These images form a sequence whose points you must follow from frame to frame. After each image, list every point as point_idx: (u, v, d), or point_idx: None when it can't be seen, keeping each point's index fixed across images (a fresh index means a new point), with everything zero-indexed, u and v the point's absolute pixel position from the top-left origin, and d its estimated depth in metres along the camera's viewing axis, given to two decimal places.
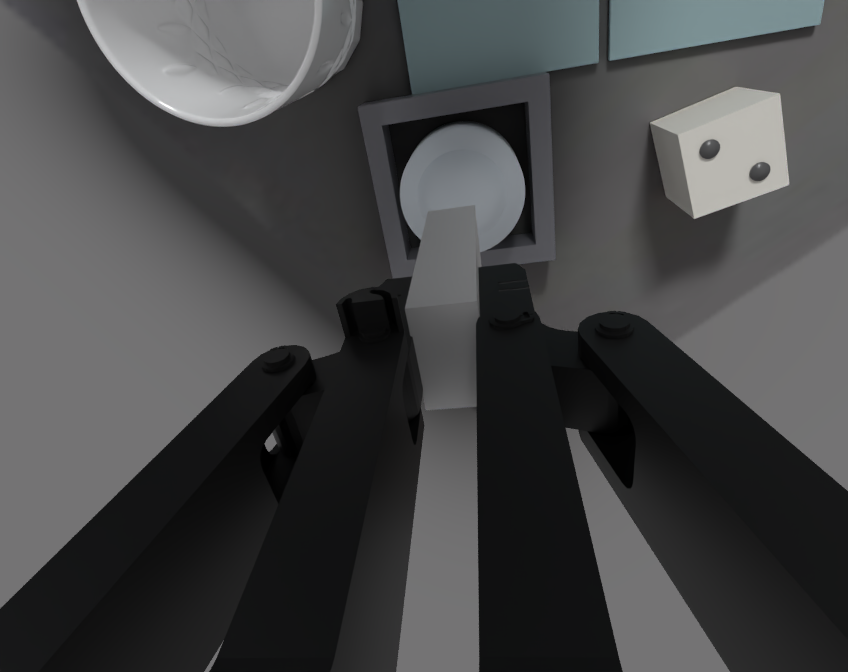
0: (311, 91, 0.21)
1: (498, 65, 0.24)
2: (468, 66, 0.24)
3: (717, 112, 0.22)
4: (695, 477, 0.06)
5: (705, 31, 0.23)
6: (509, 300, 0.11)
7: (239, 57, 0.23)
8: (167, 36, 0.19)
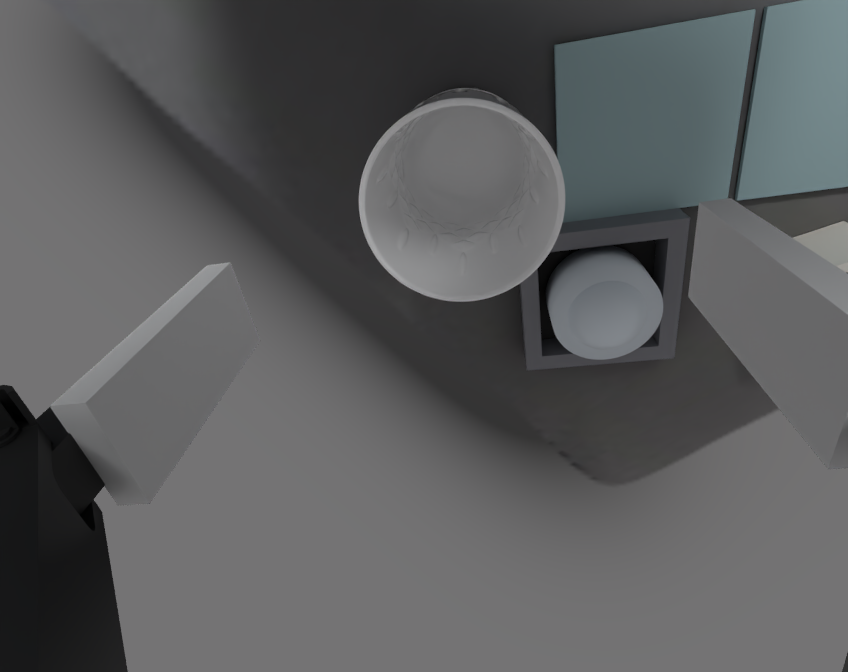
0: None
1: (638, 202, 0.28)
2: (612, 202, 0.28)
3: (835, 255, 0.26)
4: None
5: (823, 180, 0.27)
6: None
7: (422, 201, 0.27)
8: (391, 210, 0.23)
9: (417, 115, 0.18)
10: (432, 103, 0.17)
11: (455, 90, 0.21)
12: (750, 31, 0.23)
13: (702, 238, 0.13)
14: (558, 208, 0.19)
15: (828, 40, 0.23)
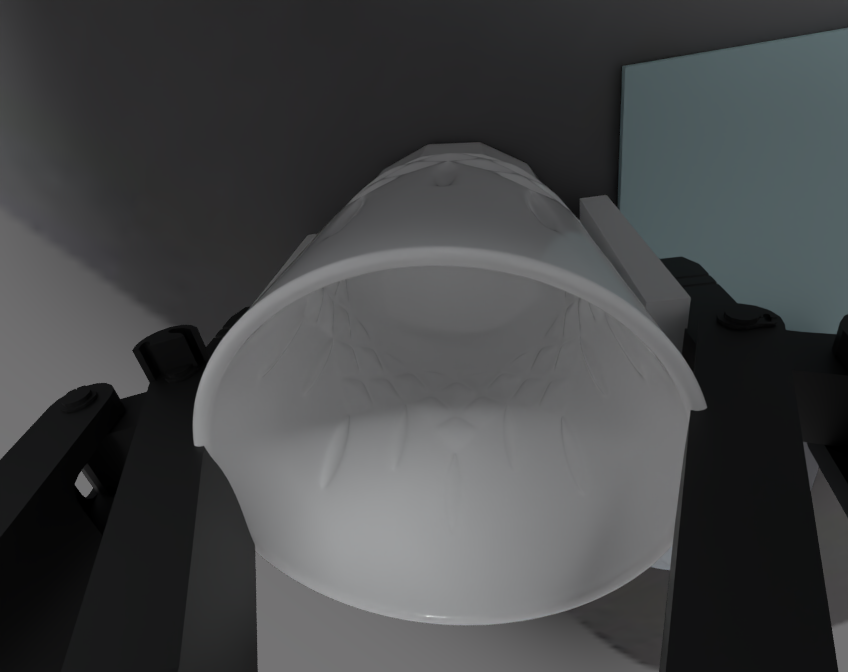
0: None
1: None
2: None
3: None
4: None
5: None
6: (703, 297, 0.10)
7: (384, 335, 0.16)
8: (313, 393, 0.12)
9: (316, 287, 0.06)
10: (356, 258, 0.06)
11: (435, 169, 0.10)
12: None
13: None
14: None
15: None
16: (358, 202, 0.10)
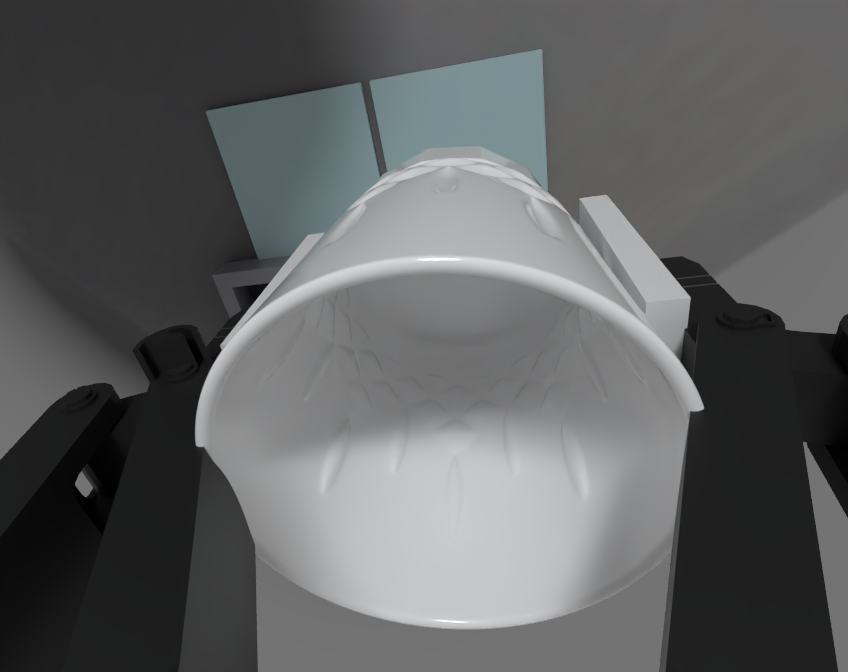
0: None
1: None
2: (297, 242, 0.32)
3: None
4: None
5: None
6: (703, 297, 0.10)
7: (385, 339, 0.16)
8: (314, 397, 0.12)
9: (319, 295, 0.06)
10: (358, 267, 0.06)
11: (436, 174, 0.10)
12: (362, 100, 0.27)
13: None
14: None
15: (428, 108, 0.27)
16: (359, 208, 0.10)
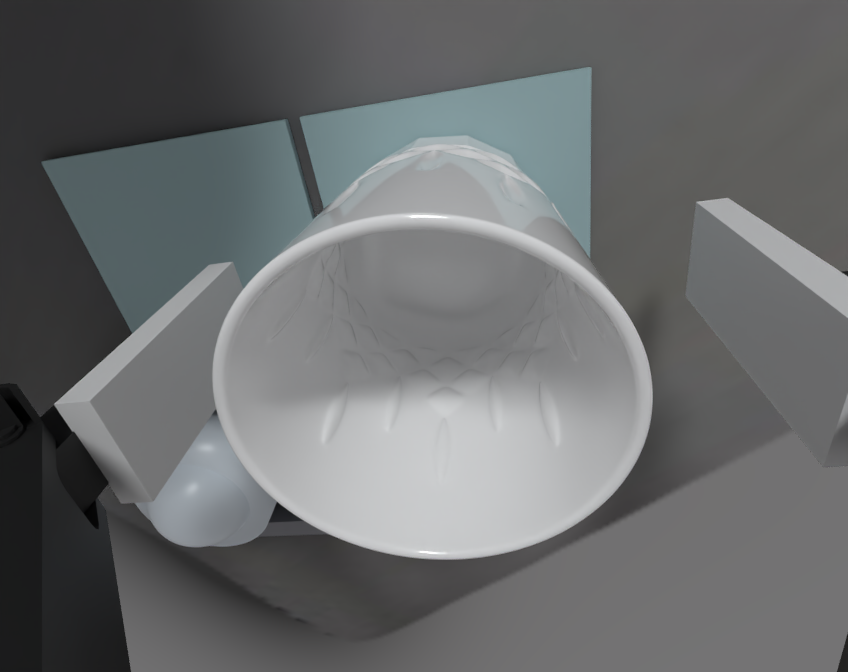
0: None
1: None
2: None
3: None
4: None
5: None
6: None
7: (381, 314, 0.17)
8: (315, 361, 0.13)
9: (317, 249, 0.08)
10: (349, 224, 0.07)
11: (422, 157, 0.11)
12: (290, 148, 0.17)
13: (699, 237, 0.13)
14: (634, 427, 0.09)
15: None
16: (354, 186, 0.11)
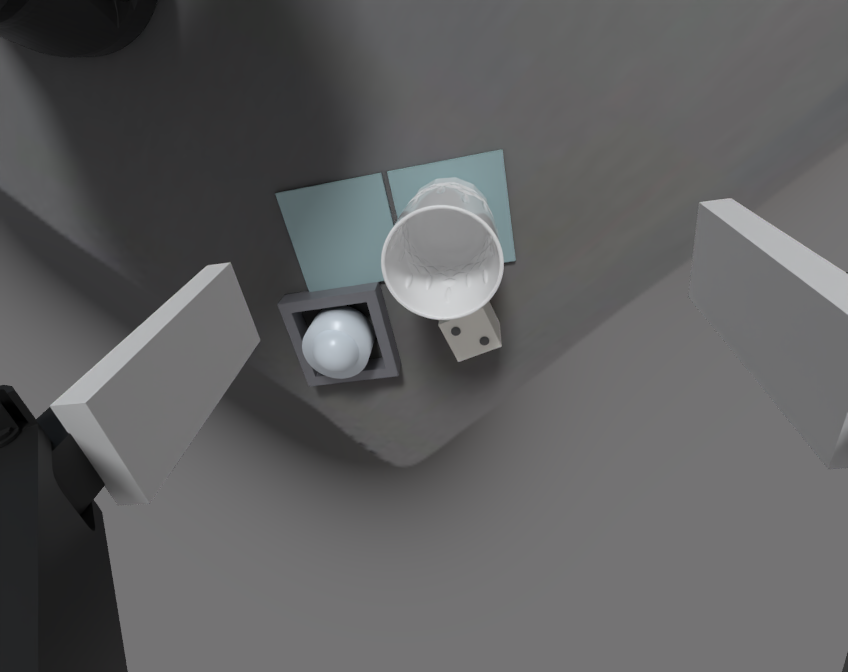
0: None
1: (353, 278, 0.44)
2: (337, 279, 0.44)
3: None
4: None
5: None
6: None
7: (421, 252, 0.40)
8: (401, 262, 0.36)
9: (413, 215, 0.31)
10: (421, 208, 0.30)
11: (438, 188, 0.35)
12: (382, 184, 0.40)
13: (702, 238, 0.13)
14: (499, 263, 0.32)
15: None
16: (416, 199, 0.34)
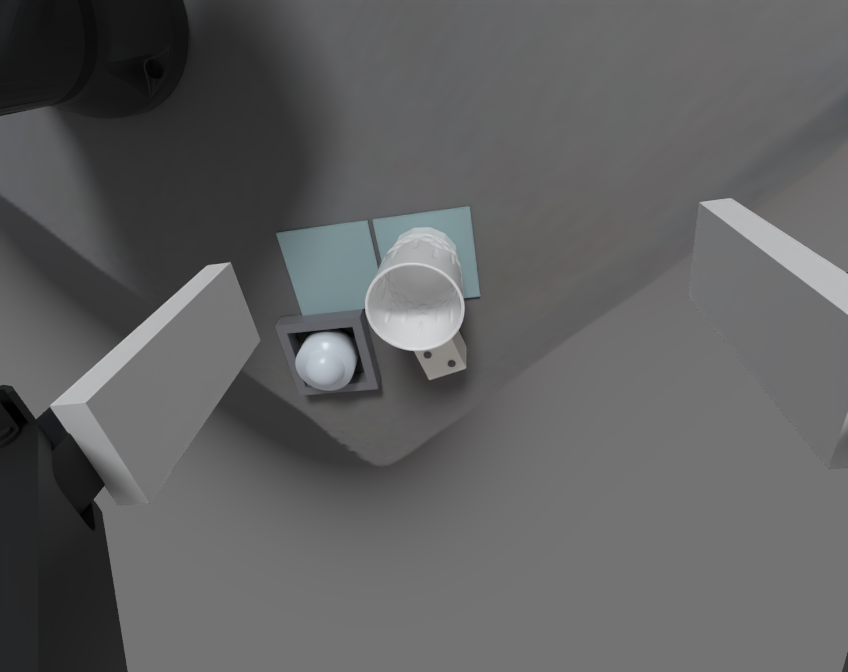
0: None
1: (341, 306, 0.51)
2: (327, 305, 0.51)
3: None
4: None
5: None
6: None
7: (400, 288, 0.47)
8: (382, 300, 0.43)
9: (392, 269, 0.38)
10: (399, 264, 0.38)
11: (414, 242, 0.42)
12: (368, 230, 0.47)
13: (701, 237, 0.13)
14: (461, 309, 0.39)
15: None
16: (395, 251, 0.41)
